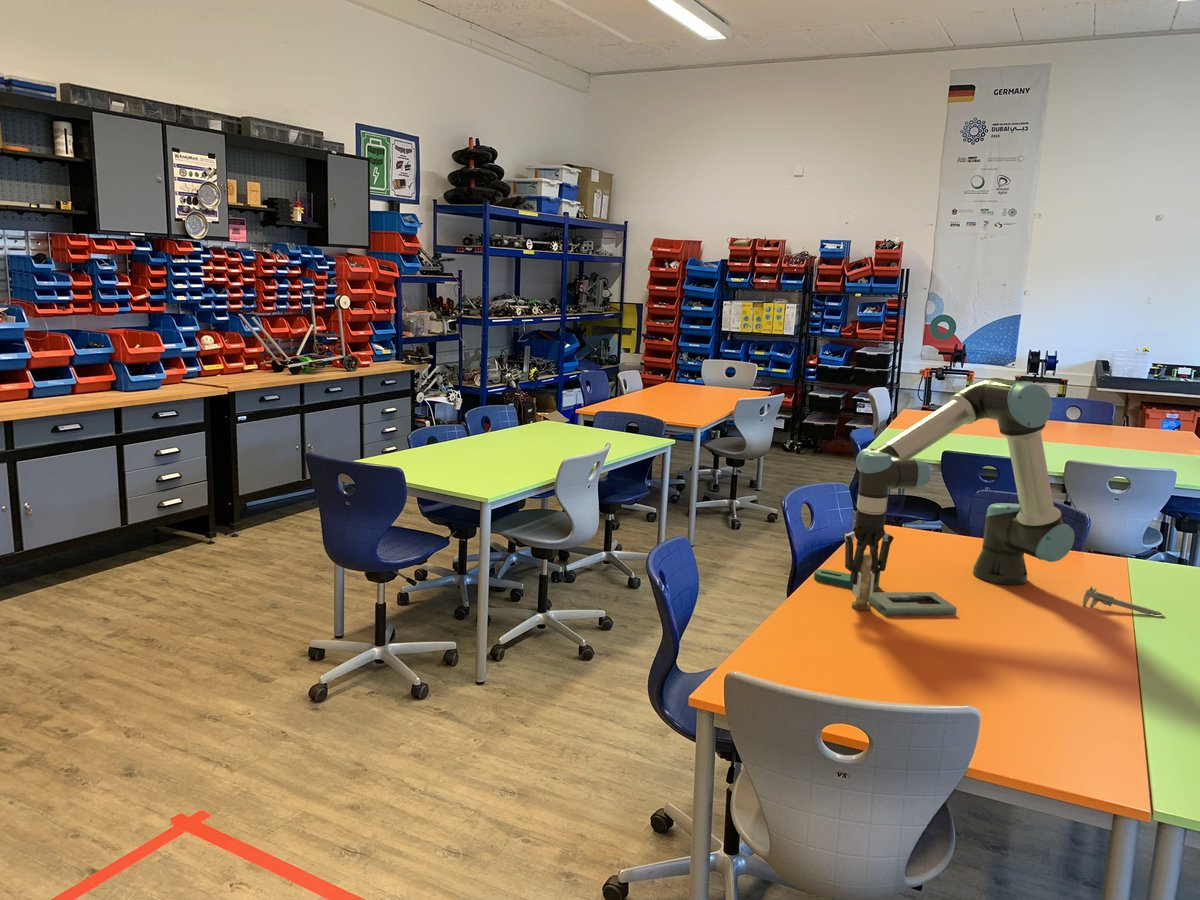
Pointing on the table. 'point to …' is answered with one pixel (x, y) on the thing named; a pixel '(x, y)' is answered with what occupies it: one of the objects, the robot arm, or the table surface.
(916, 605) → the keyhole plate
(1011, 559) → the robot arm
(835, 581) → the bracket
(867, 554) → the peg
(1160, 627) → the table surface
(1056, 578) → the table surface
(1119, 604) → the caliper
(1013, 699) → the table surface
